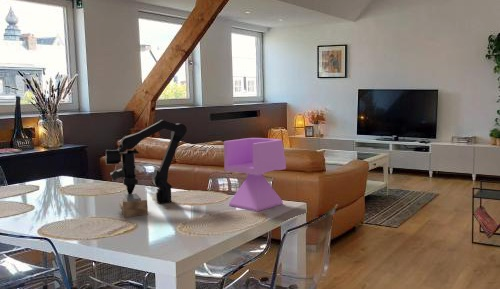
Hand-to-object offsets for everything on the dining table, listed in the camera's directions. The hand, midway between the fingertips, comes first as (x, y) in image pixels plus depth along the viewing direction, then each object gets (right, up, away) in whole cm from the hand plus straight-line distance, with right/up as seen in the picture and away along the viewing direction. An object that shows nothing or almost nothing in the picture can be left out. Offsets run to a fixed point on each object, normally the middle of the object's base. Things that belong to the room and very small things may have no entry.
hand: (129, 196), depth 234 cm
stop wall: (+7, -6, -19) cm, 21 cm away
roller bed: (+3, -5, -9) cm, 11 cm away
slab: (+3, -2, -6) cm, 7 cm away
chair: (+59, -4, -5) cm, 60 cm away
